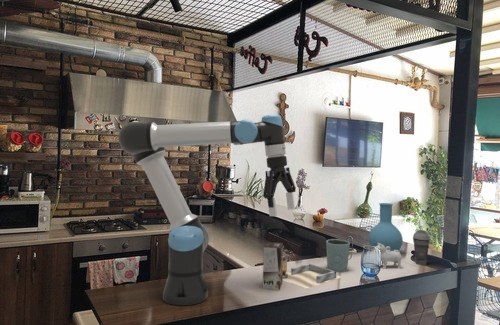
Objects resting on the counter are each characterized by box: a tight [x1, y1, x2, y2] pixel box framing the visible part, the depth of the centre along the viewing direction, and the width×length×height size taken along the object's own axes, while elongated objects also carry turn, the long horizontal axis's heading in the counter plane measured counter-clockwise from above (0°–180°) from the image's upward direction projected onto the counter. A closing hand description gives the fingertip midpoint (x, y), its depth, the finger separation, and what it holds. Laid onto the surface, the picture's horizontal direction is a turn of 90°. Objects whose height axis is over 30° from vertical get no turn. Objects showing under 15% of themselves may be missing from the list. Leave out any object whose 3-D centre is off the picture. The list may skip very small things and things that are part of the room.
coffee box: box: [262, 241, 284, 291], centre depth 144 cm, size 9×6×16 cm
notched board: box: [283, 263, 343, 289], centre depth 155 cm, size 22×18×4 cm
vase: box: [368, 202, 403, 251], centre depth 200 cm, size 16×16×25 cm
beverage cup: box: [412, 219, 431, 266], centre depth 179 cm, size 7×7×20 cm
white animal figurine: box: [375, 243, 403, 270], centre depth 173 cm, size 5×13×11 cm, turn 95°
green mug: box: [325, 238, 351, 273], centre depth 169 cm, size 10×10×12 cm
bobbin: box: [283, 253, 289, 279], centre depth 154 cm, size 5×5×9 cm
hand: (282, 212), depth 146 cm, fingers open, 13 cm apart
